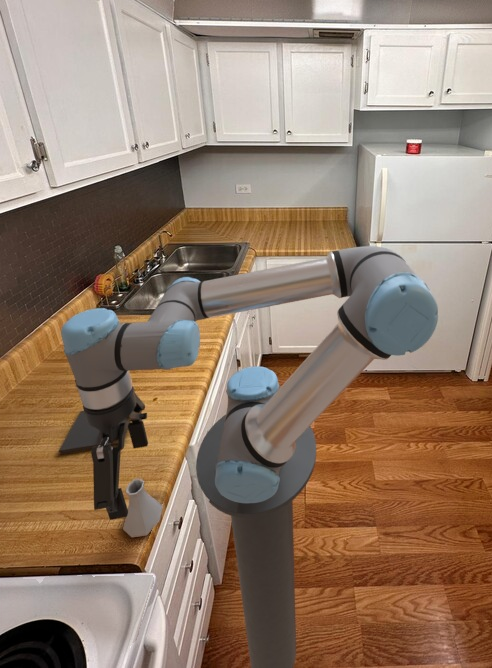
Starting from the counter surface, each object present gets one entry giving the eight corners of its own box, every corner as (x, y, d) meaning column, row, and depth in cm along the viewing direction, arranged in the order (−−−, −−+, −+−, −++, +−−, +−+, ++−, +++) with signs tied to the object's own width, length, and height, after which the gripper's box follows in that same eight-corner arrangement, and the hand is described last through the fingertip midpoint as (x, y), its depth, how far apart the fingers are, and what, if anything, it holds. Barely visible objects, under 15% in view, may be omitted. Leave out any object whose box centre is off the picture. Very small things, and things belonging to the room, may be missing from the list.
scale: (137, 406, 96) (135, 398, 94) (123, 445, 84) (120, 437, 83) (81, 414, 93) (79, 406, 92) (59, 456, 81) (56, 447, 80)
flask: (148, 542, 65) (138, 510, 62) (116, 534, 66) (104, 502, 63) (169, 503, 72) (162, 471, 68) (140, 496, 73) (131, 465, 69)
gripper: (110, 349, 67) (130, 426, 75) (43, 469, 45) (81, 560, 52) (150, 345, 69) (165, 420, 77) (104, 458, 46) (132, 549, 54)
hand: (131, 477), depth 65 cm, fingers open, 13 cm apart
